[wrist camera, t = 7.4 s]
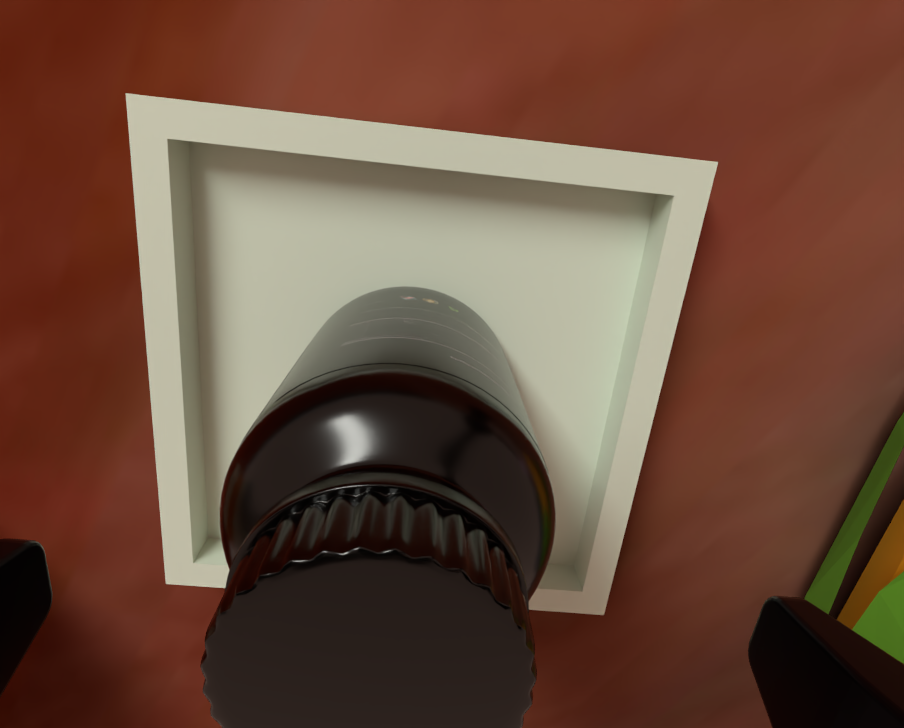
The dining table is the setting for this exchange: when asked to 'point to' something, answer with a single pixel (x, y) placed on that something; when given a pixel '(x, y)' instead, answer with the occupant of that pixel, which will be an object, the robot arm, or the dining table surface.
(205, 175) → the tray
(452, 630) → the supplement bottle
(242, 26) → the dining table surface
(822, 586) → the corn
